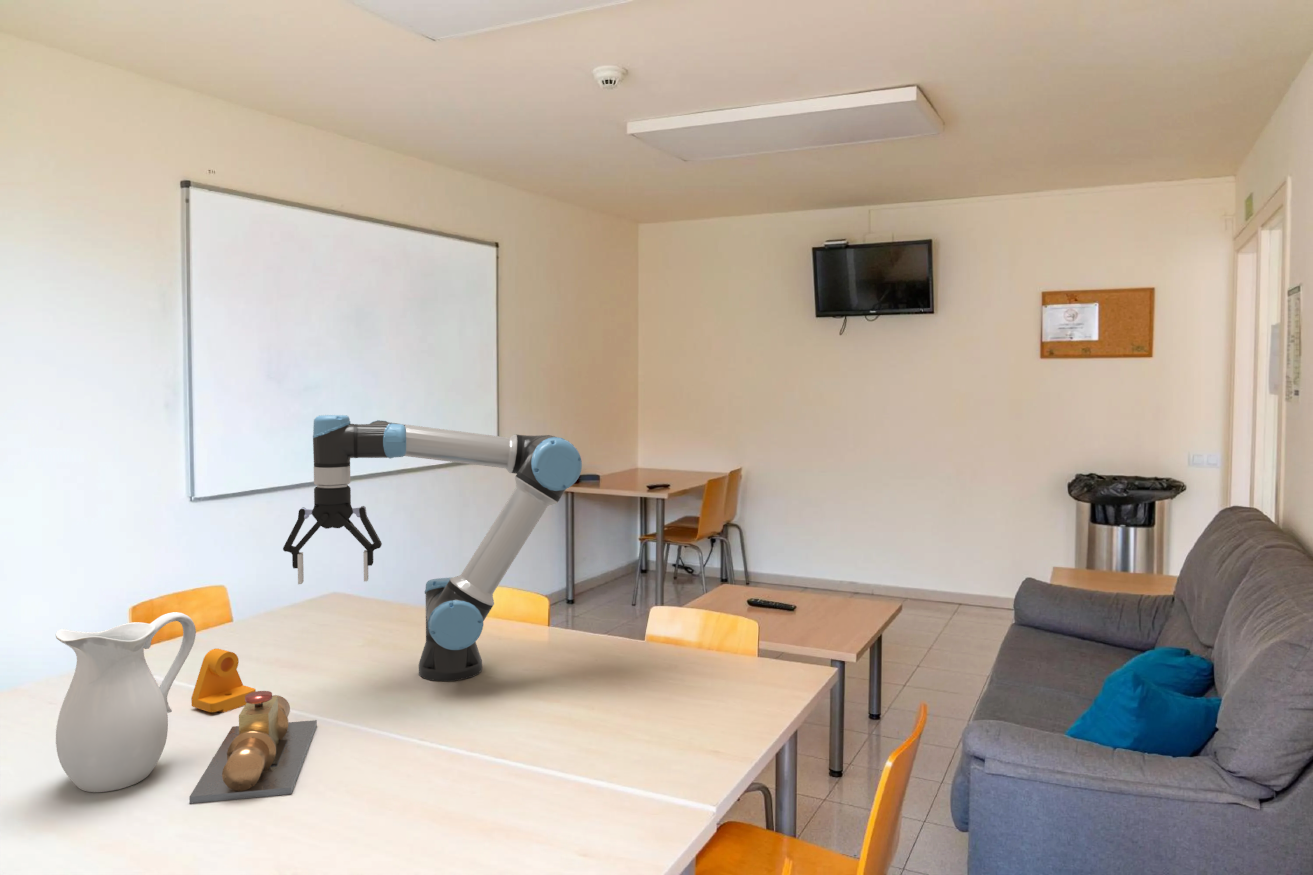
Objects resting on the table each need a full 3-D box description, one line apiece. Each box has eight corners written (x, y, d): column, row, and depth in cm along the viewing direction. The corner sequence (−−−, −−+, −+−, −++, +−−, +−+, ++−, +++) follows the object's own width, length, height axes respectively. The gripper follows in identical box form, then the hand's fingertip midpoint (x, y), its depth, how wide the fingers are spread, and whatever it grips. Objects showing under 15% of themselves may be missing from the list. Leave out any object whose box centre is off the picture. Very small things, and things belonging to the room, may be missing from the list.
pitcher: (87, 810, 146) (82, 644, 145) (38, 784, 155) (33, 628, 154) (224, 758, 167) (221, 612, 165) (174, 738, 175) (170, 599, 174)
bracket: (212, 716, 187) (210, 660, 187) (191, 709, 191) (190, 655, 190) (257, 701, 197) (256, 647, 196) (237, 695, 200) (236, 642, 200)
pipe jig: (232, 732, 179) (231, 692, 178) (316, 725, 183) (316, 686, 182) (189, 803, 149) (188, 755, 148) (291, 794, 153) (290, 747, 152)
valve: (278, 741, 171) (277, 685, 170) (269, 761, 162) (268, 702, 161) (250, 744, 170) (249, 687, 169) (239, 763, 161) (238, 704, 160)
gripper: (392, 482, 201) (393, 575, 202) (274, 484, 195) (276, 580, 196) (390, 486, 193) (391, 582, 195) (267, 488, 188) (269, 587, 189)
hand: (333, 581), depth 196 cm, fingers open, 13 cm apart
